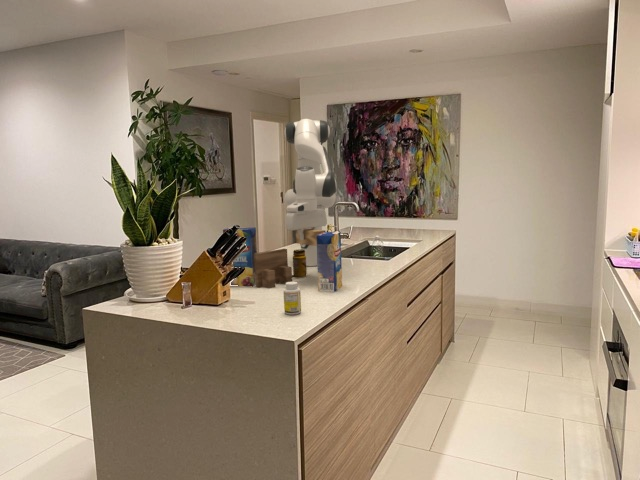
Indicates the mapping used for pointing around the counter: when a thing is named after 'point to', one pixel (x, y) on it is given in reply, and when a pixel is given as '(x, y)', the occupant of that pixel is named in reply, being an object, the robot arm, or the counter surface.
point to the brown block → (272, 268)
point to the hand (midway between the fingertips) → (307, 238)
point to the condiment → (299, 264)
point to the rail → (307, 236)
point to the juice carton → (246, 257)
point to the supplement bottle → (292, 298)
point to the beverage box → (329, 261)
